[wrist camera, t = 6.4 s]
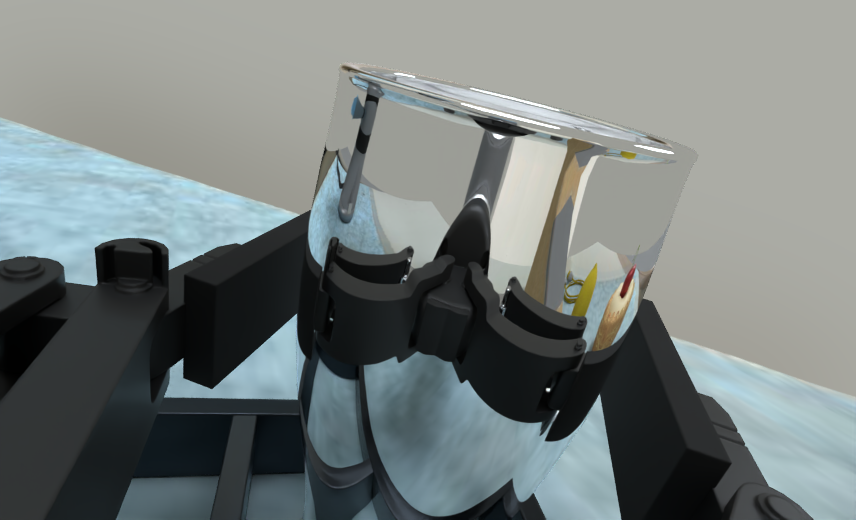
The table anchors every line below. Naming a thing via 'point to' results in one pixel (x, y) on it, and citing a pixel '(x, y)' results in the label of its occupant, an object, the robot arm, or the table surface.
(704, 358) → the table surface
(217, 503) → the black divided tray
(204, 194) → the table surface
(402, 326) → the beer glass
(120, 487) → the robot arm
